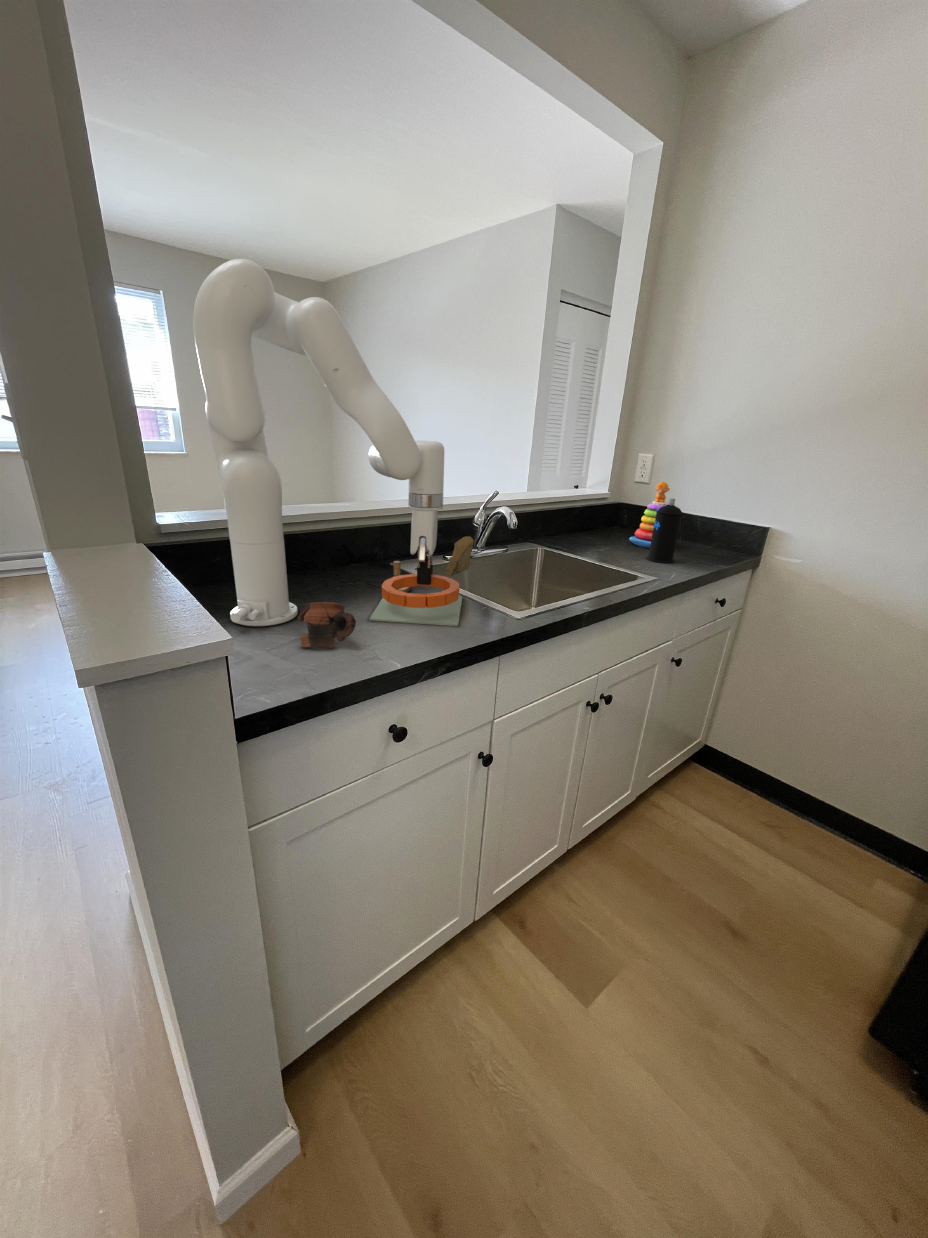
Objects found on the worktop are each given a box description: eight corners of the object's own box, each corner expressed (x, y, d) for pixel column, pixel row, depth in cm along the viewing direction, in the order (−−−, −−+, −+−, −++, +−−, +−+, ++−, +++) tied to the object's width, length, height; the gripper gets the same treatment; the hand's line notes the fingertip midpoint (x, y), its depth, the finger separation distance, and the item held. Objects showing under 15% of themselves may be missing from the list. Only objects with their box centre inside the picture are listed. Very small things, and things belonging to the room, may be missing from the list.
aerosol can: (675, 560, 165) (688, 498, 158) (670, 564, 158) (683, 501, 151) (650, 555, 169) (661, 495, 162) (644, 560, 162) (655, 497, 155)
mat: (458, 626, 100) (458, 624, 100) (369, 620, 100) (369, 618, 100) (462, 597, 117) (462, 596, 116) (386, 593, 117) (386, 591, 117)
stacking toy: (675, 546, 185) (688, 482, 177) (661, 551, 176) (674, 484, 168) (641, 540, 194) (652, 478, 185) (626, 544, 185) (637, 479, 176)
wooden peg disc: (407, 594, 117) (407, 565, 114) (382, 592, 117) (382, 564, 115) (411, 587, 122) (411, 559, 120) (387, 585, 123) (387, 557, 120)
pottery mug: (284, 648, 87) (286, 602, 88) (320, 653, 95) (321, 611, 97) (341, 645, 82) (342, 596, 84) (373, 650, 91) (373, 606, 92)
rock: (455, 571, 129) (484, 561, 135) (441, 541, 130) (471, 533, 135) (438, 585, 139) (466, 576, 144) (426, 558, 139) (454, 550, 145)
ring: (456, 609, 100) (456, 598, 99) (375, 606, 100) (375, 594, 99) (460, 585, 115) (460, 575, 114) (390, 582, 115) (390, 572, 114)
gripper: (413, 495, 115) (413, 572, 121) (402, 505, 100) (403, 592, 107) (446, 497, 115) (443, 573, 121) (439, 507, 100) (437, 594, 106)
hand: (424, 581), depth 114 cm, fingers closed on ring, 2 cm apart
